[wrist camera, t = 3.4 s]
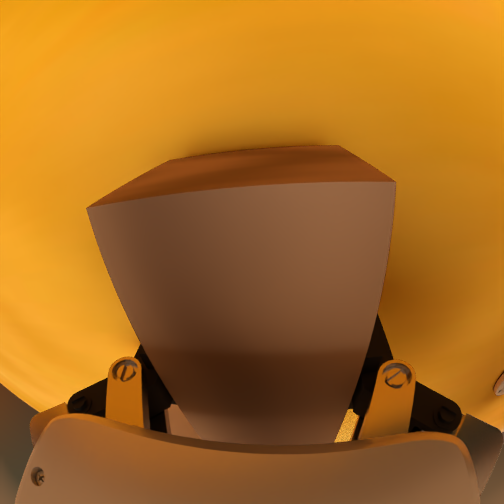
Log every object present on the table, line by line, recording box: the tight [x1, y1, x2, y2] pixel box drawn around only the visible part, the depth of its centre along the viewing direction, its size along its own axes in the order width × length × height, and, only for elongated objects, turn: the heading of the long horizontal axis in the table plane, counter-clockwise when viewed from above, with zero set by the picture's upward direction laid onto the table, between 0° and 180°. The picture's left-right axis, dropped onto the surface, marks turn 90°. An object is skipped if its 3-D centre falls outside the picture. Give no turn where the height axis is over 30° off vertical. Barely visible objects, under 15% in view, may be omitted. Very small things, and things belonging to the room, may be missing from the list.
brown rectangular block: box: [86, 145, 396, 445], centre depth 10 cm, size 6×13×5 cm, turn 6°
